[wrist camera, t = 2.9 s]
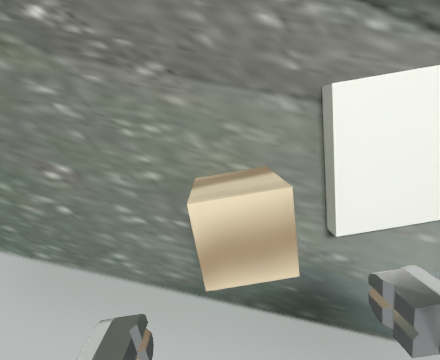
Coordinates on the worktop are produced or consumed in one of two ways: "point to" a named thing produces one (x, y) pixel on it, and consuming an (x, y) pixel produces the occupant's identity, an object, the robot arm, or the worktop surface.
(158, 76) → the worktop surface
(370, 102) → the plate
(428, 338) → the robot arm
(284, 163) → the worktop surface
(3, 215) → the worktop surface
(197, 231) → the beech brick
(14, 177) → the worktop surface
